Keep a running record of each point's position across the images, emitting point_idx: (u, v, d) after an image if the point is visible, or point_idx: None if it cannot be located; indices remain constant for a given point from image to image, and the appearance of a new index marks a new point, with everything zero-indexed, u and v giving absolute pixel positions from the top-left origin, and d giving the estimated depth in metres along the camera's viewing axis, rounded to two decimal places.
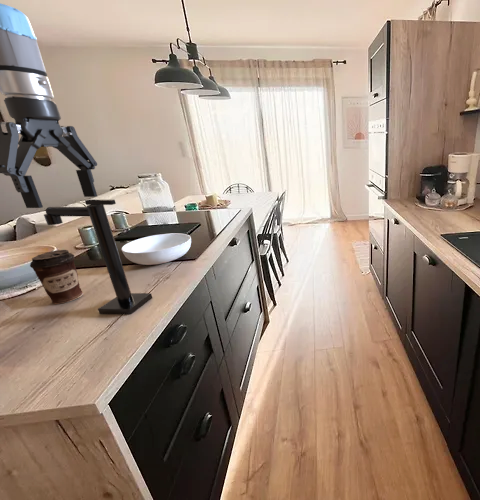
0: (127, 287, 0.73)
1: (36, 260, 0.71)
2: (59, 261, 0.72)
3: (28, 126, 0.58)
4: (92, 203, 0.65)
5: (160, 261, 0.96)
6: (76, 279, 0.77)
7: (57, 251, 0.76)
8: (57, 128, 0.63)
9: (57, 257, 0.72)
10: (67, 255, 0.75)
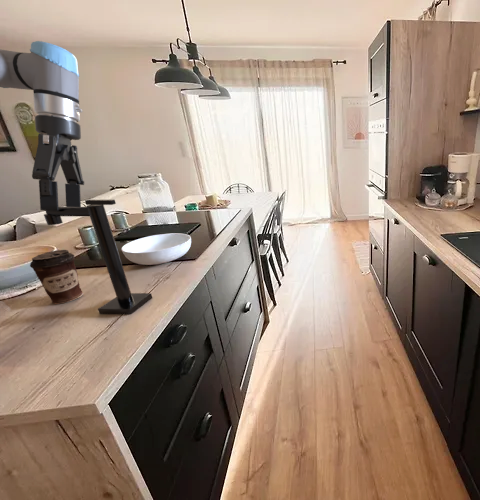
0: (127, 287, 0.73)
1: (36, 260, 0.71)
2: (59, 261, 0.72)
3: (59, 141, 0.66)
4: (92, 203, 0.65)
5: (160, 261, 0.96)
6: (76, 279, 0.77)
7: (57, 251, 0.76)
8: (70, 146, 0.71)
9: (57, 257, 0.72)
10: (67, 255, 0.75)
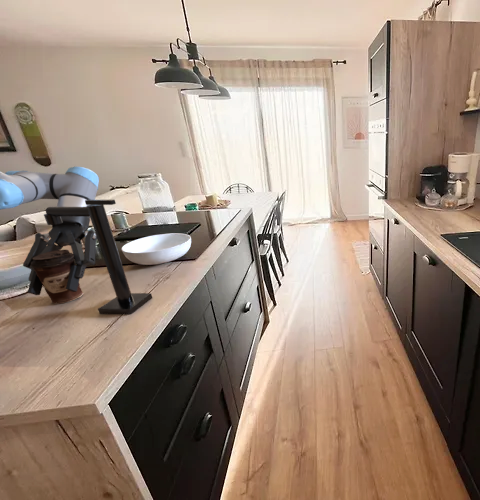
0: (127, 287, 0.73)
1: (37, 260, 0.71)
2: (59, 261, 0.72)
3: None
4: (92, 203, 0.65)
5: (160, 261, 0.96)
6: None
7: (58, 251, 0.76)
8: None
9: (58, 257, 0.72)
10: (68, 255, 0.75)
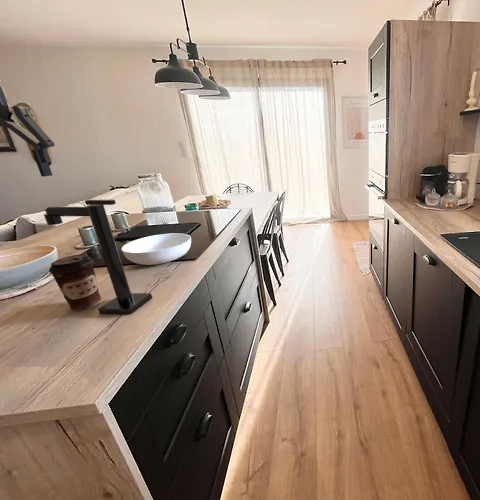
0: (127, 287, 0.73)
1: (56, 265, 0.68)
2: (79, 266, 0.69)
3: None
4: (92, 203, 0.65)
5: (160, 261, 0.96)
6: (95, 284, 0.74)
7: (76, 255, 0.73)
8: None
9: (77, 262, 0.69)
10: (87, 260, 0.72)
